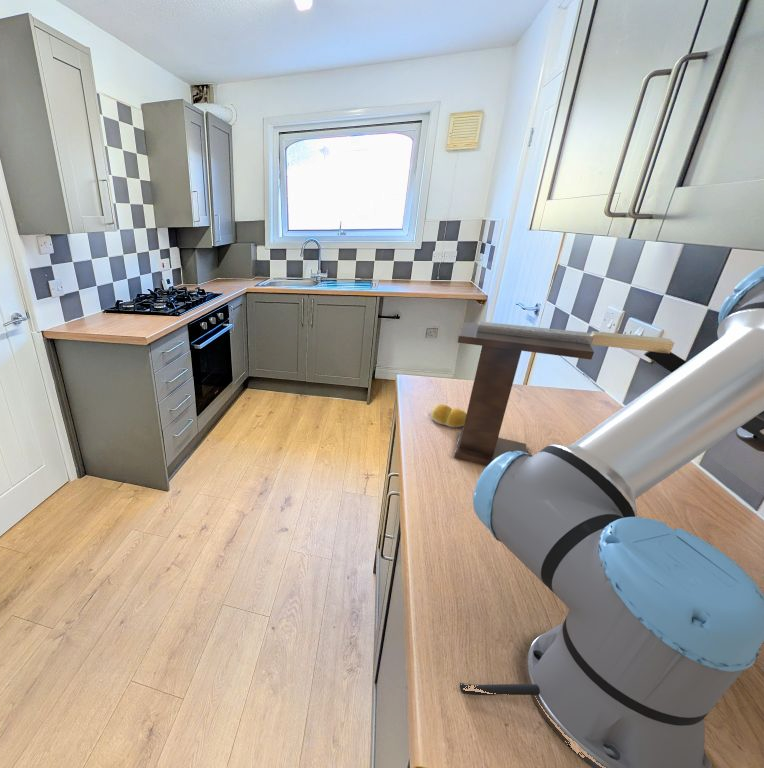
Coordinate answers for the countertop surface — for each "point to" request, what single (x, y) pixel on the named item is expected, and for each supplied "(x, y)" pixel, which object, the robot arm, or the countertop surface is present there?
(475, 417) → the shelf stand
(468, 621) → the countertop surface
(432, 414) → the bread roll
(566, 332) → the kitchen knife
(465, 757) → the countertop surface
